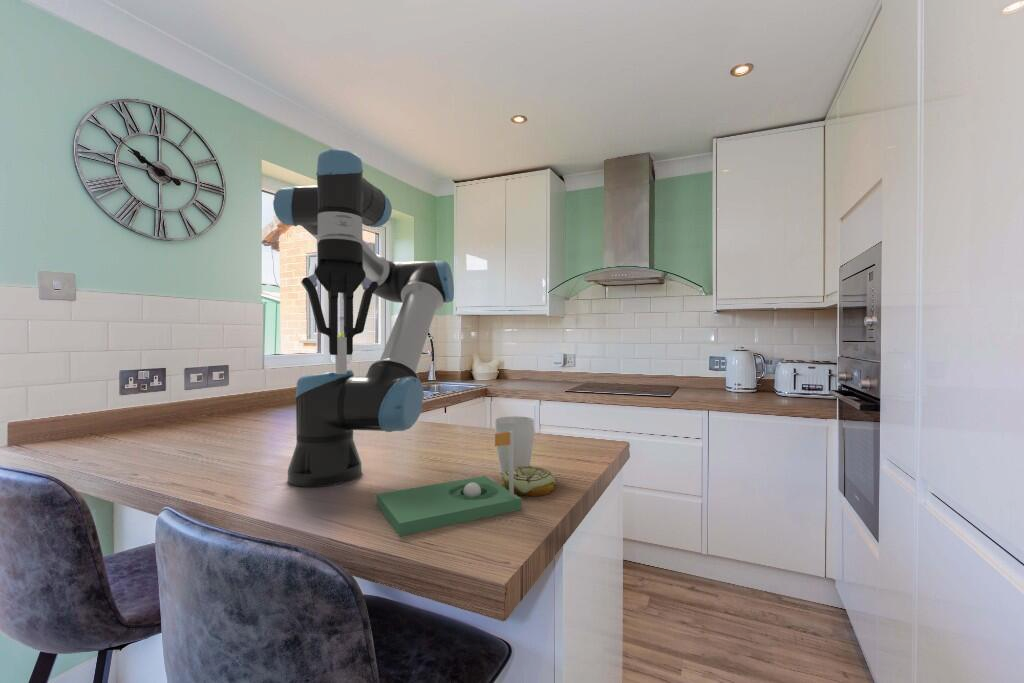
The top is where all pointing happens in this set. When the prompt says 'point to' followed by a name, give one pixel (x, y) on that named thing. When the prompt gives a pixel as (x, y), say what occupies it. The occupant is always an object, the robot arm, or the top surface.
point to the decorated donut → (530, 481)
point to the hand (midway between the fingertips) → (341, 373)
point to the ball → (472, 489)
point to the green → (450, 500)
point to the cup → (515, 441)
